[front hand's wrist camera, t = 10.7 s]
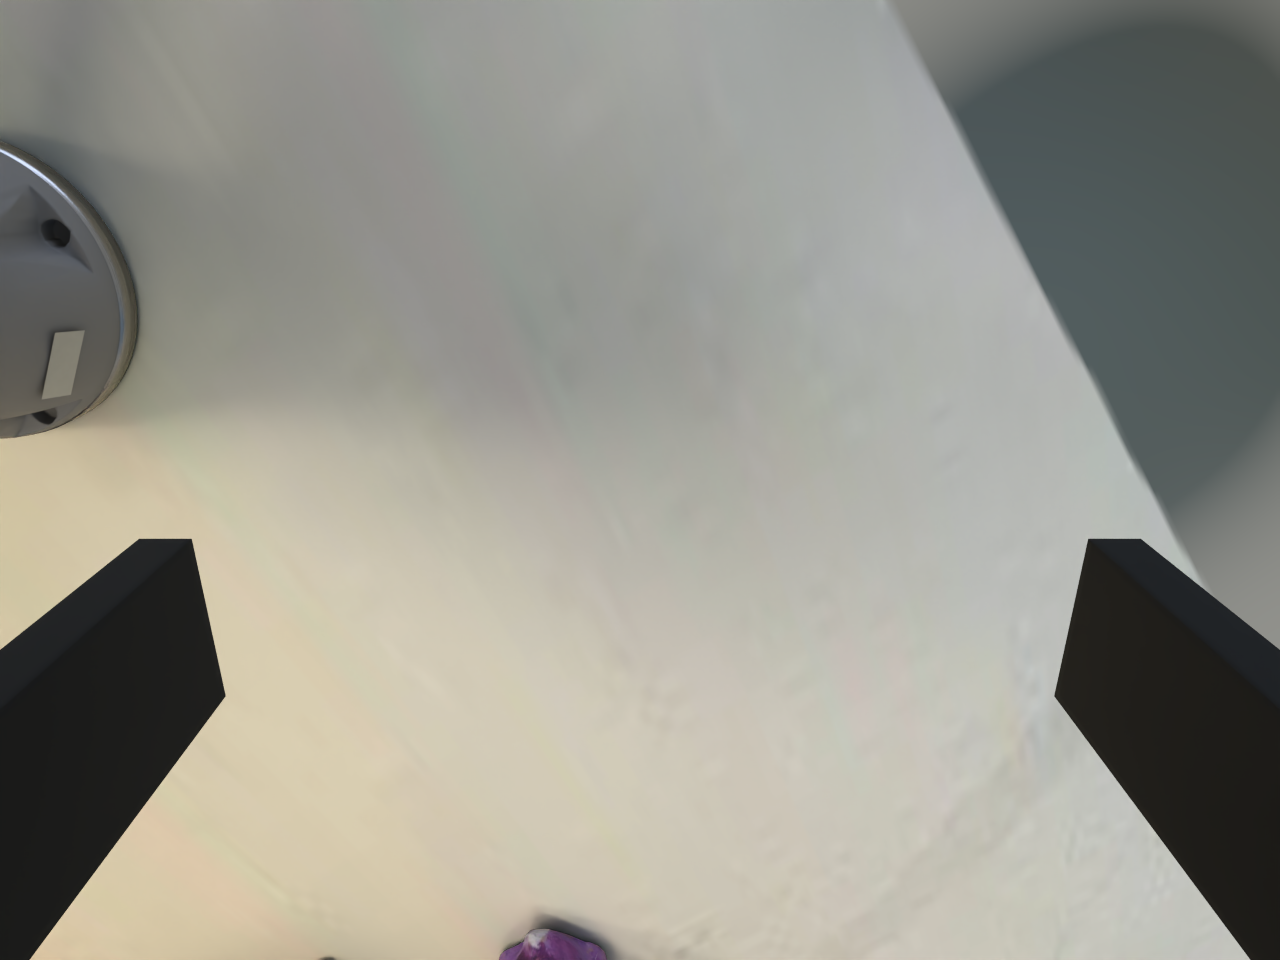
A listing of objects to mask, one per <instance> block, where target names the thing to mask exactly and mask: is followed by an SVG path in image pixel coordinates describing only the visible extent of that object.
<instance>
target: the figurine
mask: <svg viewBox="0 0 1280 960" xmlns="http://www.w3.org/2000/svg"><path fill="white" fill-rule="evenodd" d="M499 960H607V958H606V954H605V952H604V951H603V950H602V949H601V948H600V946H598V945H596V944H593V943H591V942H584V941H582V940H580V939H577V938H575V937H573V936H570V935H568V934H565V933H561V932H558V931H554V930H550V929H535V930H531V931H530V932H529V933H527V934H526V936H525V938H524V942H521V943H520V944H519V945H516V946H514V947H512V948H509V949H507V950H505V951H504V952H503V953H502V954H501V955H500V958H499Z"/></svg>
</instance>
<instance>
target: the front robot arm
mask: <svg viewBox="0 0 1280 960" xmlns="http://www.w3.org/2000/svg"><path fill="white" fill-rule="evenodd" d="M136 334H137V306H136V299H135V292H134V288H133V284H132V280H131V276H130V273H129V270H128V267H127V265H126V262H125V260H124V257H123V255H122V253H121V251H120V248H119V246H118V244H117V243H116V241H115V239H114V237H113V235H112V234H111V232H110V230H109V229H108V227H107V226H106V224H105V223H104V221H103V220H102V218H101V217H100V216H99V215H98V213H97V212H96V211H95V209H94V208H93V207H92V206H91V204H90V203H89V202H88V201H87V200H86V199H85V198H84V197H83V196H82V195H81V193H80V192H79V191H77V190H76V189H75V188H74V187H73V186H72V185H71V184H70V183H69V182H68V181H67V180H66V179H64V178H63V177H62V176H61V175H59V174H58V173H57V172H56V171H54V170H53V169H52V168H50V167H49V166H47V165H46V164H44V163H43V162H41V161H40V160H38V159H37V158H35V157H33V156H31V155H30V154H28V153H26V152H24V151H22V150H20V149H18V148H16V147H14V146H12V145H9V144H7V143H4V142H1V141H0V438H15V437H21V436H27V435H33V434H37V433H41V432H46V431H49V430H51V429H54V428H57V427H59V426H61V425H64V424H66V423H68V422H70V421H72V420H74V419H76V418H78V417H80V416H82V415H84V414H86V413H87V412H89V411H90V410H92V409H94V408H95V407H96V406H98V405H99V404H100V403H101V402H103V401H104V400H105V399H106V398H107V397H108V396H109V395H110V394H111V393H112V392H113V390H114V389H115V388H116V386H117V385H118V384H119V382H120V381H121V379H122V377H123V375H124V374H125V372H126V370H127V367H128V365H129V363H130V360H131V357H132V354H133V350H134V346H135V340H136ZM224 698H225V691H224V686H223V682H222V677H221V672H220V668H219V663H218V659H217V654H216V649H215V645H214V640H213V635H212V631H211V626H210V622H209V617H208V612H207V608H206V603H205V598H204V594H203V589H202V585H201V580H200V575H199V571H198V566H197V561H196V557H195V552H194V548H193V543H192V539H139V540H137V541H136V542H135V543H134V544H132V545H131V546H130V547H129V548H127V549H126V550H125V551H124V552H122V553H121V554H120V555H119V556H117V557H116V558H115V559H114V560H112V561H111V562H110V563H109V564H107V565H106V566H105V567H104V568H102V569H101V570H100V571H98V572H97V573H96V574H95V575H93V576H92V577H91V578H90V579H88V580H87V581H86V582H85V583H83V584H82V585H81V586H80V587H78V588H77V589H76V590H75V591H73V592H72V593H71V594H70V595H68V596H67V597H66V598H65V599H63V600H62V601H61V602H60V603H58V604H57V605H56V606H55V607H53V608H52V609H51V610H50V611H48V612H47V613H46V614H45V615H43V616H42V617H41V618H40V619H38V620H37V621H36V622H35V623H33V624H32V625H31V626H30V627H28V628H27V629H26V630H25V631H23V632H22V633H21V634H20V635H18V636H17V637H16V638H15V639H13V640H12V641H11V642H10V643H8V644H7V645H6V646H5V647H3V648H2V649H1V650H0V960H30V958H31V957H32V956H33V954H34V953H35V952H36V950H37V949H38V948H39V946H40V945H41V944H42V942H43V941H44V940H45V938H46V937H47V935H48V934H49V933H50V931H51V930H52V929H53V927H54V926H55V925H56V923H57V922H58V921H59V919H60V918H61V917H62V915H63V914H64V913H65V911H66V910H67V909H68V907H69V906H70V905H71V903H72V902H73V901H74V899H75V898H76V896H77V895H78V894H79V892H80V891H81V890H82V888H83V887H84V886H85V884H86V883H87V882H88V880H89V879H90V878H91V876H92V875H93V874H94V872H95V871H96V870H97V868H98V867H99V866H100V864H101V863H102V862H103V860H104V859H105V858H106V856H107V855H108V853H109V852H110V851H111V849H112V848H113V847H114V845H115V844H116V843H117V841H118V840H119V839H120V837H121V836H122V835H123V833H124V832H125V831H126V829H127V828H128V827H129V825H130V824H131V823H132V821H133V820H134V819H135V817H136V816H137V815H138V813H139V812H140V810H141V809H142V808H143V806H144V805H145V804H146V802H147V801H148V800H149V798H150V797H151V796H152V794H153V793H154V792H155V790H156V789H157V788H158V786H159V785H160V784H161V782H162V781H163V780H164V778H165V777H166V776H167V774H168V773H169V772H170V770H171V769H172V767H173V766H174V765H175V763H176V762H177V761H178V759H179V758H180V757H181V755H182V754H183V753H184V751H185V750H186V749H187V747H188V746H189V745H190V743H191V742H192V741H193V739H194V738H195V737H196V735H197V734H198V733H199V731H200V730H201V729H202V727H203V726H204V724H205V723H206V722H207V720H208V719H209V718H210V716H211V715H212V714H213V712H214V711H215V710H216V708H217V707H218V706H219V704H220V703H221V702H222V700H223V699H224ZM1055 698H1056V699H1057V700H1058V702H1059V703H1060V704H1061V706H1062V707H1063V708H1064V710H1065V711H1066V712H1067V714H1068V715H1069V716H1070V718H1071V719H1072V720H1073V722H1074V723H1075V724H1076V726H1077V727H1078V729H1079V730H1080V731H1081V733H1082V734H1083V735H1084V737H1085V738H1086V739H1087V741H1088V742H1089V743H1090V745H1091V746H1092V747H1093V749H1094V750H1095V751H1096V753H1097V754H1098V755H1099V757H1100V758H1101V759H1102V761H1103V762H1104V763H1105V765H1106V766H1107V767H1108V769H1109V770H1110V772H1111V773H1112V774H1113V776H1114V777H1115V778H1116V780H1117V781H1118V782H1119V784H1120V785H1121V786H1122V788H1123V789H1124V790H1125V792H1126V793H1127V794H1128V796H1129V797H1130V798H1131V800H1132V801H1133V802H1134V804H1135V805H1136V806H1137V808H1138V809H1139V810H1140V812H1141V813H1142V815H1143V816H1144V817H1145V819H1146V820H1147V821H1148V823H1149V824H1150V825H1151V827H1152V828H1153V829H1154V831H1155V832H1156V833H1157V835H1158V836H1159V837H1160V839H1161V840H1162V841H1163V843H1164V844H1165V845H1166V847H1167V848H1168V849H1169V851H1170V852H1171V853H1172V855H1173V856H1174V858H1175V859H1176V860H1177V862H1178V863H1179V864H1180V866H1181V867H1182V868H1183V870H1184V871H1185V872H1186V874H1187V875H1188V876H1189V878H1190V879H1191V880H1192V882H1193V883H1194V884H1195V886H1196V887H1197V888H1198V890H1199V891H1200V892H1201V894H1202V895H1203V896H1204V898H1205V899H1206V901H1207V902H1208V903H1209V905H1210V906H1211V907H1212V909H1213V910H1214V911H1215V913H1216V914H1217V915H1218V917H1219V918H1220V919H1221V921H1222V922H1223V923H1224V925H1225V926H1226V927H1227V929H1228V930H1229V931H1230V933H1231V934H1232V935H1233V937H1234V938H1235V940H1236V941H1237V942H1238V944H1239V945H1240V946H1241V948H1242V949H1243V950H1244V952H1245V953H1246V954H1247V956H1248V957H1249V958H1250V960H1280V650H1279V649H1278V648H1277V647H1275V646H1274V645H1273V644H1272V643H1270V642H1269V641H1268V640H1267V639H1265V638H1264V637H1263V636H1262V635H1260V634H1259V633H1258V632H1257V631H1255V630H1254V629H1253V628H1252V627H1250V626H1249V625H1248V624H1247V623H1245V622H1244V621H1243V620H1242V619H1240V618H1239V617H1238V616H1237V615H1235V614H1234V613H1233V612H1231V611H1230V610H1229V609H1228V608H1227V607H1225V606H1224V605H1223V604H1222V603H1220V602H1219V601H1218V600H1217V599H1215V598H1214V597H1213V596H1212V595H1210V594H1209V593H1208V592H1207V591H1205V590H1204V589H1203V588H1202V587H1200V586H1199V585H1198V584H1197V583H1195V582H1194V581H1193V580H1192V579H1190V578H1189V577H1188V576H1187V575H1185V574H1184V573H1183V572H1182V571H1180V570H1179V569H1178V568H1176V567H1175V566H1174V565H1173V564H1171V563H1170V562H1169V561H1168V560H1166V559H1165V558H1164V557H1163V556H1161V555H1160V554H1159V553H1158V552H1156V551H1155V550H1154V549H1153V548H1151V547H1150V546H1149V545H1148V544H1146V543H1145V542H1144V541H1143V540H1141V539H1088V543H1087V548H1086V552H1085V557H1084V561H1083V566H1082V571H1081V575H1080V580H1079V585H1078V589H1077V594H1076V598H1075V603H1074V608H1073V612H1072V617H1071V622H1070V626H1069V631H1068V635H1067V640H1066V645H1065V649H1064V654H1063V659H1062V663H1061V668H1060V672H1059V677H1058V682H1057V686H1056V691H1055Z"/></svg>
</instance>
